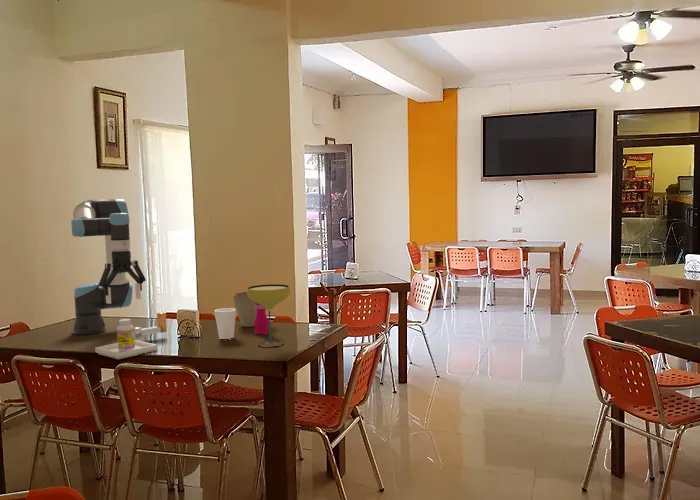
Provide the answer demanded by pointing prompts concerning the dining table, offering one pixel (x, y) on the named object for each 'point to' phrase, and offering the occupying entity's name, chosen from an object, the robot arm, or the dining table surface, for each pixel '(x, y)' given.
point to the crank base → (141, 338)
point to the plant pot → (245, 309)
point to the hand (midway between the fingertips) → (123, 301)
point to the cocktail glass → (268, 298)
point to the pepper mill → (261, 320)
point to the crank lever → (152, 330)
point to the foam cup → (225, 322)
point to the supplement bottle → (125, 335)
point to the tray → (115, 353)
